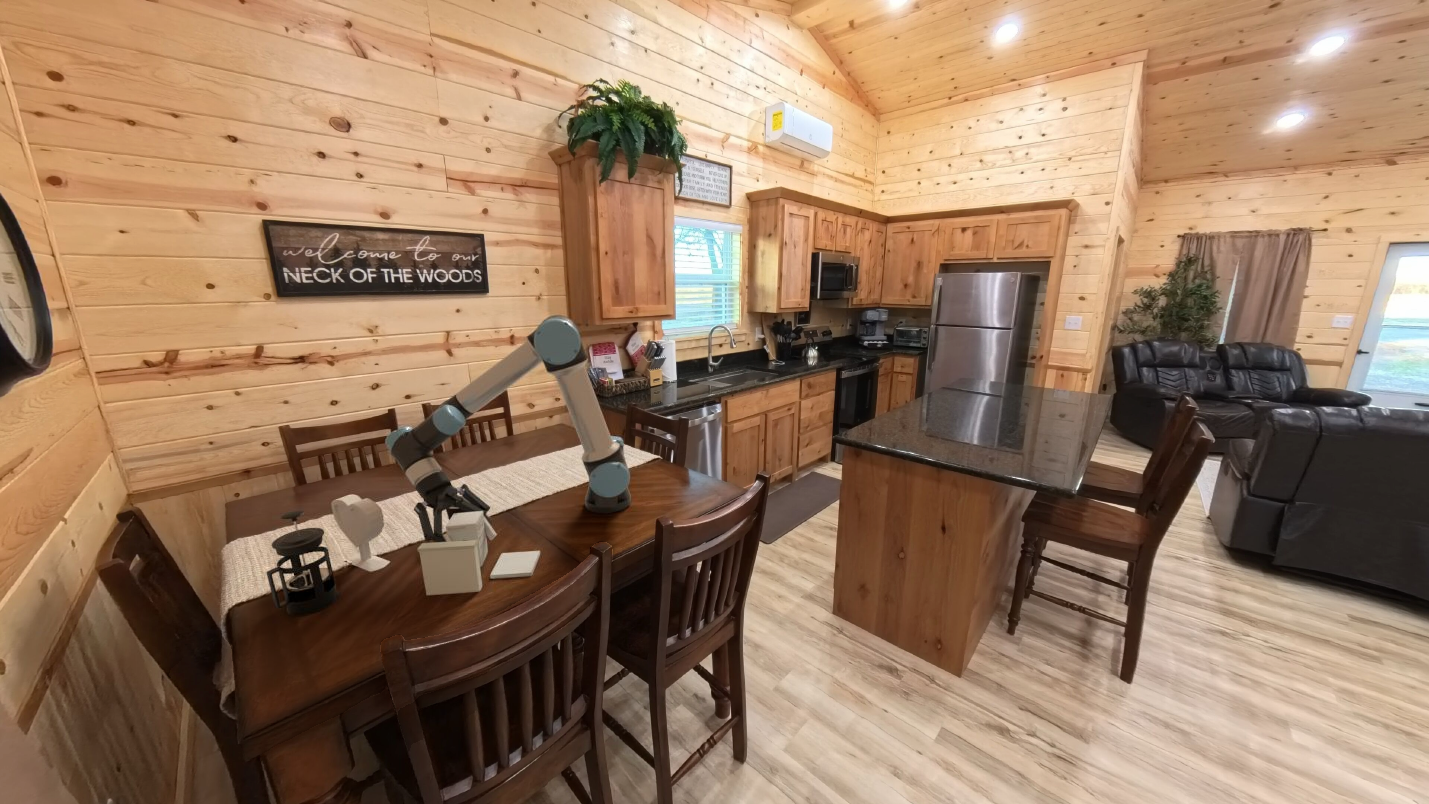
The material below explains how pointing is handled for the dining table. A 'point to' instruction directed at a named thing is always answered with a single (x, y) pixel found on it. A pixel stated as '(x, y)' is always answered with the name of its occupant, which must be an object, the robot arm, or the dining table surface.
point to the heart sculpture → (360, 528)
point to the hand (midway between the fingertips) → (476, 547)
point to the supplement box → (469, 530)
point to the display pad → (515, 564)
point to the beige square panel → (450, 567)
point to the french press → (311, 578)
